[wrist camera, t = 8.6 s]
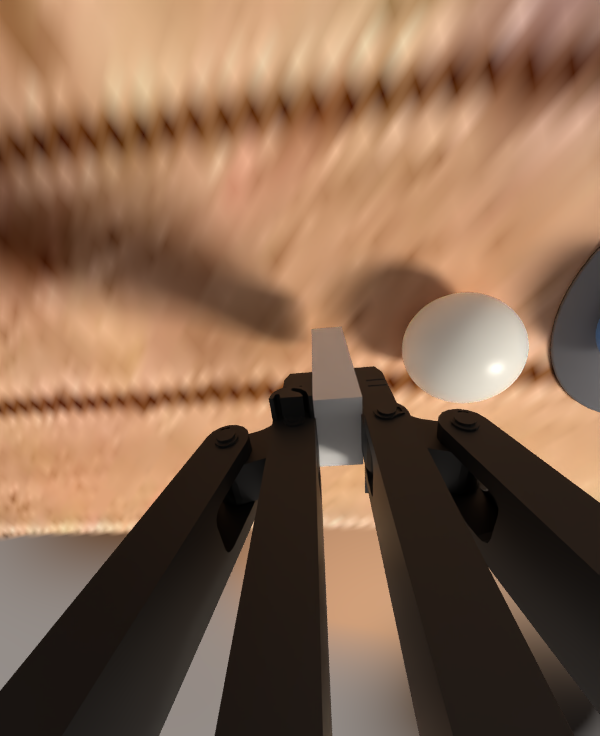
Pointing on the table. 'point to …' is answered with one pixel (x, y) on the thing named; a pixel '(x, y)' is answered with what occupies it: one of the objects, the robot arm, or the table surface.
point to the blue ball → (598, 335)
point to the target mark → (579, 337)
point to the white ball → (465, 347)
